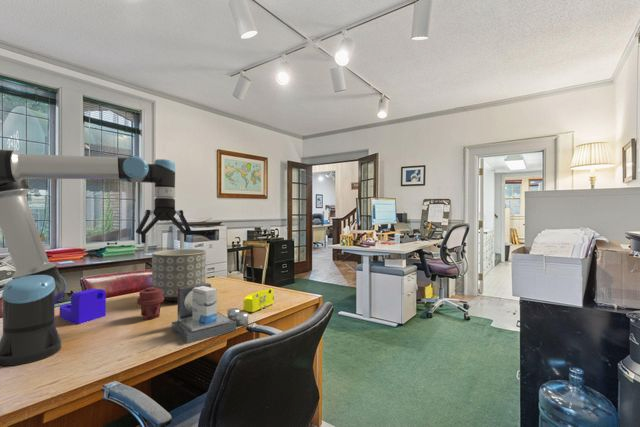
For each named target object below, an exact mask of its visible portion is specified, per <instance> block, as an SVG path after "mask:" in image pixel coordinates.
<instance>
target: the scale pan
mask: <svg viewBox="0 0 640 427" xmlns="http://www.w3.org/2000/svg"><path fill="white" fill-rule="evenodd" d="M219 313H220V312H218V313H217V320H215V321H212V322H209V323H203V322H200V321H197V320H194V319H193V317H188V318H183V319H179V322H180V323H181V324H182V325H184V326H185V327H186V328H187V329H189V330H190V331H191V332H194V331H198V330H202V329H206V328H210V327H214V326H218V325H222V324H226V323H230V320H229V319H228V318H226V317H227V316H226V317H224V316H225V315H224V316H222V315H223V314H222V313H220V314H219ZM221 314H222V315H221Z"/></svg>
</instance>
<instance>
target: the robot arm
mask: <svg viewBox="0 0 640 427" xmlns="http://www.w3.org/2000/svg"><path fill="white" fill-rule="evenodd" d="M37 179H38V180H74V179H75V180H120V181H121V182H126V183H127V182H128V183H146V184H147V183H151V184H154V197H155V198H154V200H153V202H154V207H153V208H154V209H153V210H152V209H151V210H150V209H146V210H145V212H144V216H143V218H142V219H141V221H140V223H139V224H138V227H137V228H136V231H135V234H139V235H140V242H141V244H143V252H145V253H148V252H149V235H148V232H149V231H150V230H151V229H152V228H153V227H154V226H155V224H156V223H158V222H159V221H160V222H169V221H171V222H172V223H173V224H174V225H175V226H176V228H177V229H178V230H179V231H180V232H181V233H179V249H185V242H187V234H188V233H190V232H191V231H192V229H191V227H190V225H189V223H188V222H187V219H186V217H185V215H184V210H183V209H179V210H176V199H175V198H176V164H175V162H174V161H173V160H170V159H164V158H163V159H161V158H159V159H158V158H157V159H155V160H154V163H147V161H146V160H145V159H144V158H142V157H140V156H136V155H135V156H130V157H116V156H89V155H88V156H87V155H85V156H84V155H62V154H61V155H57V154H35V153H34V154H33V153H32V154H31V153H30V154H29V153H25V154H24V153H20V152H19V151H18V150H12V149H0V231H1V234H2V236H3V239H4V241H5V244H6V248H7V250H8V253H9V255H10V259H11V261H12V264H13V266H14V269H15V272H14V274H13V275H12V276H11V278H12V279H10V280H8V281H7V282H6V283H5V284H4V285H3V289H2V290H3V291H2V292H1V298H2V336H1V337H0V366H1V367H2V366H3V367H4V366H5V367H7V366H17V365H23V364H28V363H33V362H37V361H40V360H43V359H46V358H48V357H51V356H53V355H54V354H56V353H58V352H59V351H60V350H62V339H61V336H60V334H59V332H58V330H57V328H56V325H55V305H56V303H58V302H59V301H61V299H62V298H63V296H64V295H65V292H66V290H67V282H66V280H65V278H64V277H63V276H62V275H61V274H60V272H59V269H58V266H57V264H56V263H53V262H50V261H49V258H48V256H47V255H48V254H47V252H46V250H45V247H44V244H43V241H42V238H41V236H40V233H39V229H38V227H37V224H36V221H35V219H34V216H33V213H32V210H31V207H30V205H29V201H28V199H27V195H28V194H29V192H30V190H31V189H30V187H29V183H28V180H37ZM152 215H154V218H152V220H151V221H150V222H149V223H148V224H147V222H148V220H149V218H150V217H151V216H152ZM175 215H177V216H178V217H179V220H180V221H181V223H182V224H181V223H180V222H179V221H178V220H177V218H176V217H175ZM146 224H147V225H146ZM145 225H146V226H145ZM144 227H145V228H144Z"/></svg>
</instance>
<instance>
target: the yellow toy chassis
mask: <svg viewBox="0 0 640 427" xmlns="http://www.w3.org/2000/svg"><path fill="white" fill-rule="evenodd" d="M274 303H275V290H274V289H273V288H268V289H266V290H265V289H261V290H259V291H256V292H253V293H250V294H248V295H246V296H245V297H244V298H243V311H245V312H247V313H255V312H257V311H258V310H261V311H262V310H263V309H267V307H269V306H270V305H272V304H274Z"/></svg>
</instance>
